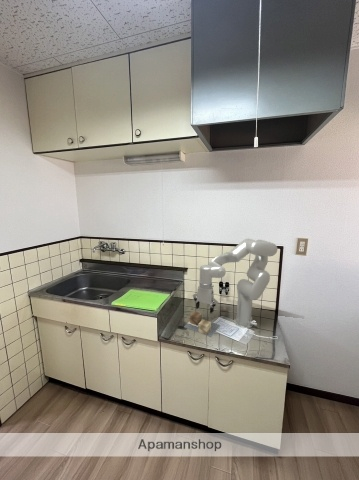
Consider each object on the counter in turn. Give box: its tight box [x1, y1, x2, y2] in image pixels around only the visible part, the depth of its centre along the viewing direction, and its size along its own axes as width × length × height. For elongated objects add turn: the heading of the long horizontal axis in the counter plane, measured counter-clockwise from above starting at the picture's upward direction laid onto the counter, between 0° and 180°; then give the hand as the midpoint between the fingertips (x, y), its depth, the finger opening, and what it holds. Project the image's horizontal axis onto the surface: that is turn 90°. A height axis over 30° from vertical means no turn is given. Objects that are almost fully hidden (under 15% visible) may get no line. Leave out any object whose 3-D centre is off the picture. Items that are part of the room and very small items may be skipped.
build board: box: [183, 318, 221, 338], centre depth 149 cm, size 20×15×1 cm
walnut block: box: [189, 310, 203, 326], centre depth 152 cm, size 6×6×6 cm
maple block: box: [199, 318, 212, 336], centre depth 143 cm, size 6×6×6 cm
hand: (204, 310), depth 140 cm, fingers open, 9 cm apart
